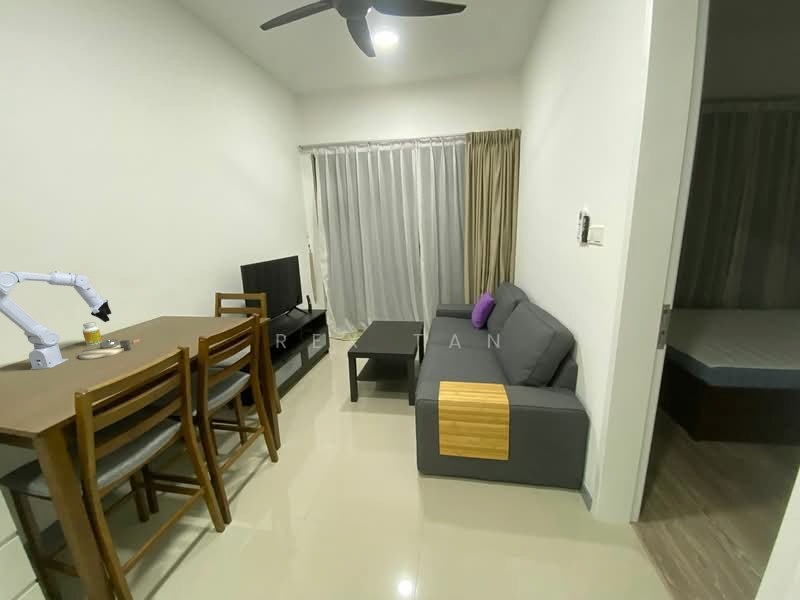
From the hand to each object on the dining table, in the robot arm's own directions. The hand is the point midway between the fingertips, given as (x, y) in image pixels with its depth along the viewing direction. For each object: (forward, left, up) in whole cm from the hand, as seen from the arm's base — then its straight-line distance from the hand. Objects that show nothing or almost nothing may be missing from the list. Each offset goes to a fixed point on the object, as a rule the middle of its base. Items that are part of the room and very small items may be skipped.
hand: (108, 317), depth 166 cm
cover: (-9, -4, -13) cm, 16 cm away
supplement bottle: (+3, +11, -15) cm, 19 cm away
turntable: (-13, -5, -14) cm, 20 cm away
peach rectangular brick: (-1, -11, -14) cm, 18 cm away
